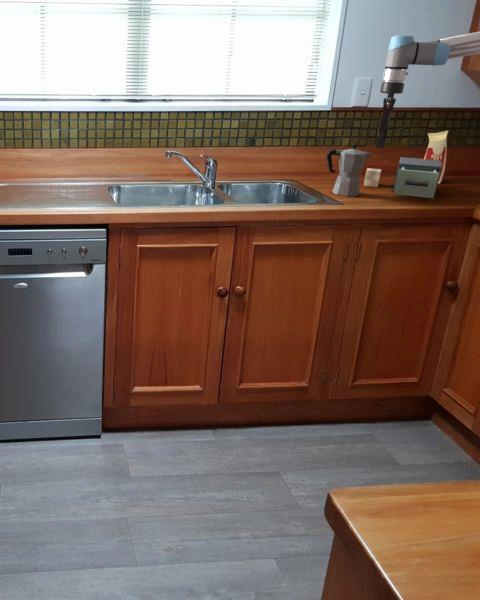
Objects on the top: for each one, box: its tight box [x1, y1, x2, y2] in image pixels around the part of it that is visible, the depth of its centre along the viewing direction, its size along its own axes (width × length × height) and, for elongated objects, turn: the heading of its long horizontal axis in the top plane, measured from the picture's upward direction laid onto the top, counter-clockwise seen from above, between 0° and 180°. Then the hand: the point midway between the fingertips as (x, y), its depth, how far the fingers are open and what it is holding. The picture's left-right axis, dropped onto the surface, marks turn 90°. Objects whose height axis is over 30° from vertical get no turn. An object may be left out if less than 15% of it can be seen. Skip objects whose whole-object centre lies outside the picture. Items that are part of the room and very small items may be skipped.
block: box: [363, 167, 382, 188], centre depth 236 cm, size 5×5×6 cm
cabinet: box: [392, 156, 442, 197], centre depth 227 cm, size 16×14×11 cm
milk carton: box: [423, 130, 449, 184], centre depth 243 cm, size 9×9×20 cm
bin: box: [393, 166, 439, 199], centre depth 218 cm, size 21×13×9 cm, turn 152°
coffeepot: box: [325, 143, 374, 197], centre depth 219 cm, size 15×9×18 cm, turn 76°
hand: (379, 147), depth 231 cm, fingers closed
